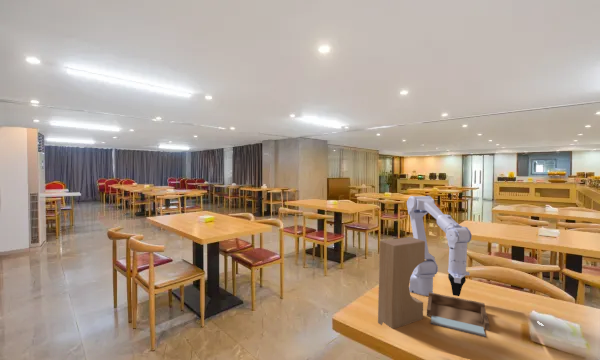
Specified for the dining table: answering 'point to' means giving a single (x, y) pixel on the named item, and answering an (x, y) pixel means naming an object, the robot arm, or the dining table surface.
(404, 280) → the decorative block
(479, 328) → the panel
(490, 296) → the dining table surface
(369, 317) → the dining table surface
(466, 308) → the tray
